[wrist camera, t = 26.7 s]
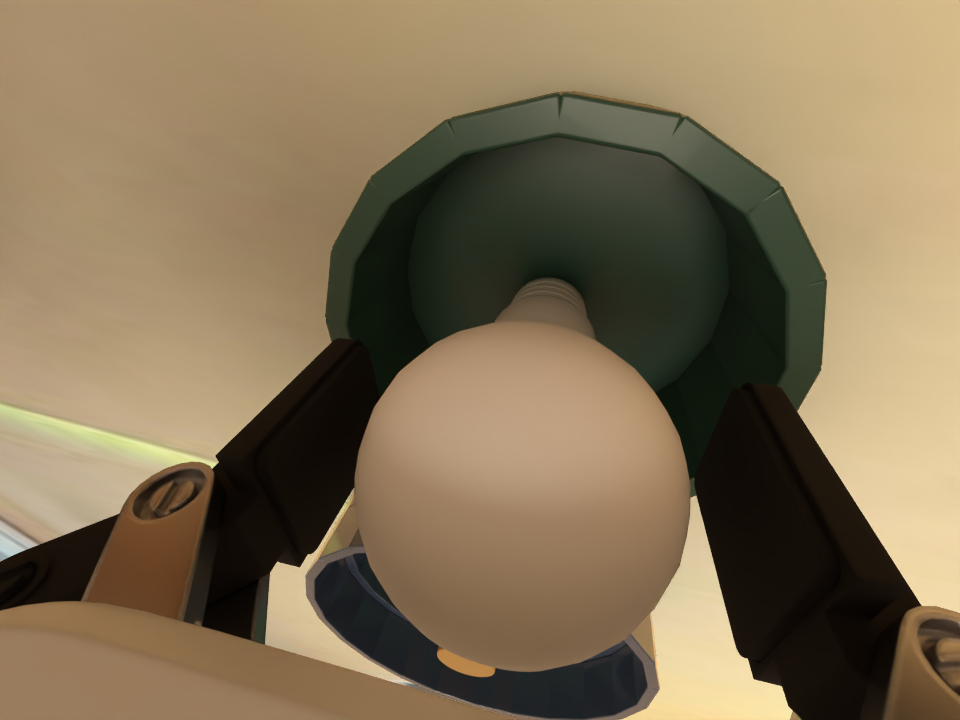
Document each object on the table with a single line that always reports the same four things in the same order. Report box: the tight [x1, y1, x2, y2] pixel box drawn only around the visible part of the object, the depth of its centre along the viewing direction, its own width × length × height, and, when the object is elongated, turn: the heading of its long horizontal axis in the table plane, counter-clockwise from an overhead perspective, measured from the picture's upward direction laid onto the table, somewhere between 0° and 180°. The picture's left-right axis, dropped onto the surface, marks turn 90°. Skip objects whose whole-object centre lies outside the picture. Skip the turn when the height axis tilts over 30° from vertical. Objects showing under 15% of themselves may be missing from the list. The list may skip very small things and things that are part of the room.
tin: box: [325, 91, 827, 498], centre depth 12 cm, size 12×13×5 cm
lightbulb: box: [355, 277, 691, 672], centre depth 10 cm, size 6×6×11 cm
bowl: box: [306, 492, 660, 720], centre depth 22 cm, size 18×18×6 cm
